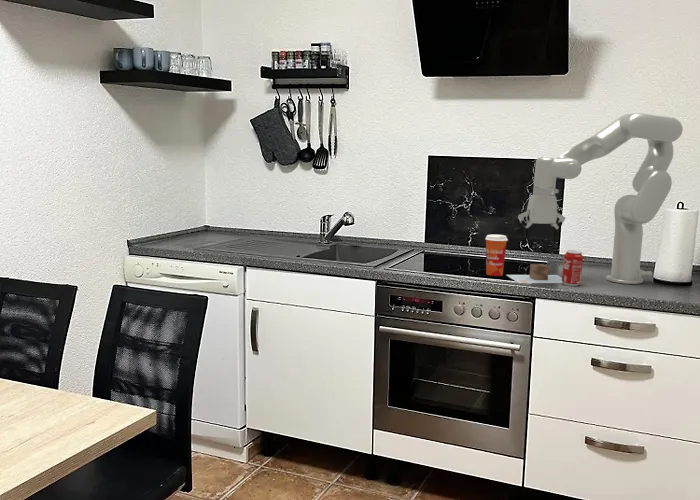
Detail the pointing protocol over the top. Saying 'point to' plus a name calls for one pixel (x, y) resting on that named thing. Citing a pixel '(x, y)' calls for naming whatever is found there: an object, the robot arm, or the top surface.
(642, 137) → the robot arm
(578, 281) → the beverage can
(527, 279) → the envelope
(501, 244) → the coffee cup
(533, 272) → the walnut block
